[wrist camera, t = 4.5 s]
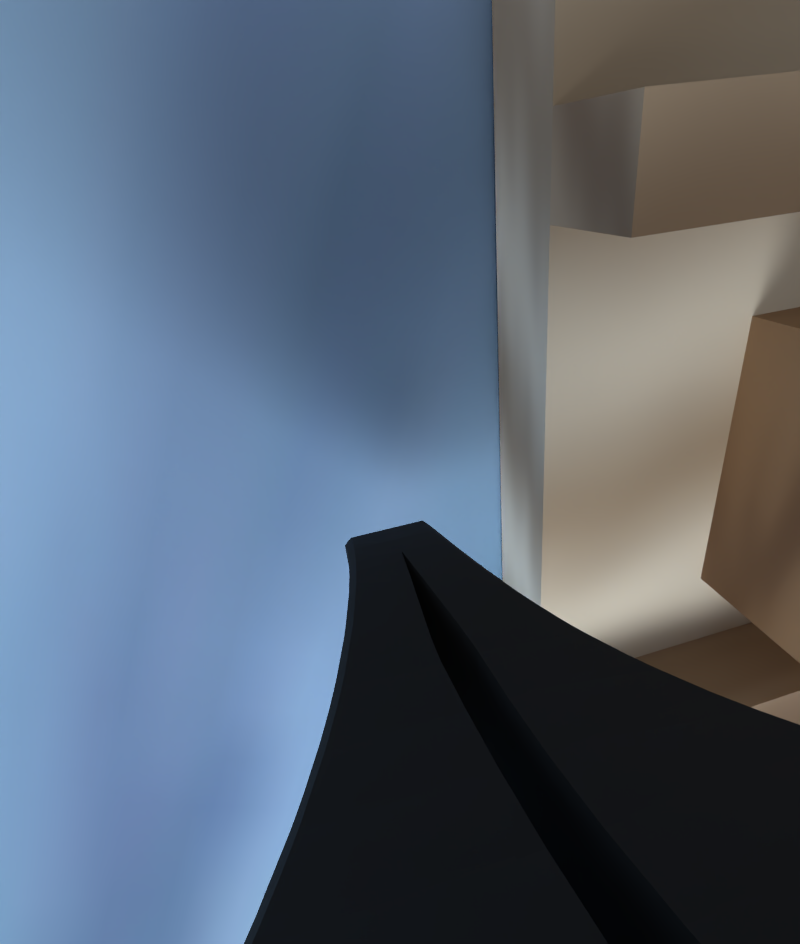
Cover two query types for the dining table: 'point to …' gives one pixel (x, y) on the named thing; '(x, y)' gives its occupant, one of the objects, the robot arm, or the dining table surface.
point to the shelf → (639, 308)
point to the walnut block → (762, 486)
